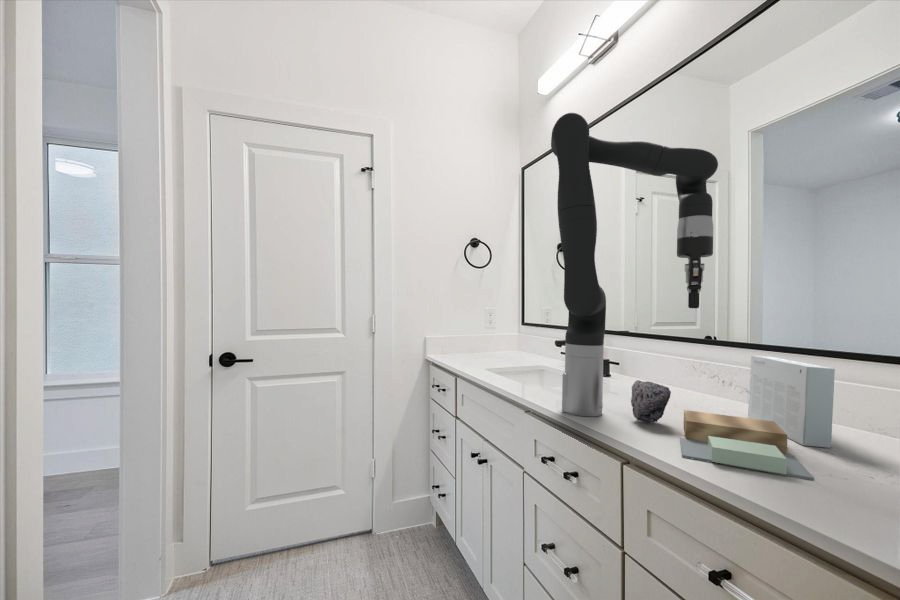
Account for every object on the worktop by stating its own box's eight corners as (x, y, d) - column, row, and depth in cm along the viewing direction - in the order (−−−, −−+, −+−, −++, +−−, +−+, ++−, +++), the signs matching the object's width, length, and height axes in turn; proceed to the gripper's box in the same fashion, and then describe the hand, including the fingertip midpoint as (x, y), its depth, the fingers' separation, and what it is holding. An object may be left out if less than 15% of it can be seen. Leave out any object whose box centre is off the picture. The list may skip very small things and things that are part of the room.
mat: (682, 457, 71) (682, 454, 71) (680, 439, 81) (680, 437, 81) (814, 480, 63) (814, 477, 63) (794, 457, 72) (794, 455, 72)
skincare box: (835, 449, 78) (836, 368, 78) (803, 446, 79) (804, 366, 79) (771, 419, 98) (772, 355, 98) (746, 417, 99) (747, 354, 100)
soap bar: (708, 435, 75) (707, 449, 75) (712, 447, 68) (712, 461, 68) (775, 445, 70) (775, 460, 70) (786, 458, 64) (786, 474, 64)
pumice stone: (673, 431, 87) (674, 385, 87) (635, 427, 89) (635, 382, 89) (661, 418, 97) (662, 377, 97) (627, 415, 99) (627, 375, 99)
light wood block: (685, 440, 80) (686, 420, 80) (683, 427, 89) (683, 409, 89) (787, 456, 73) (787, 434, 73) (773, 440, 82) (774, 421, 82)
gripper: (676, 242, 104) (675, 308, 104) (677, 233, 93) (676, 307, 93) (710, 240, 101) (709, 308, 101) (716, 231, 89) (715, 308, 89)
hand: (693, 308), depth 97 cm, fingers closed
